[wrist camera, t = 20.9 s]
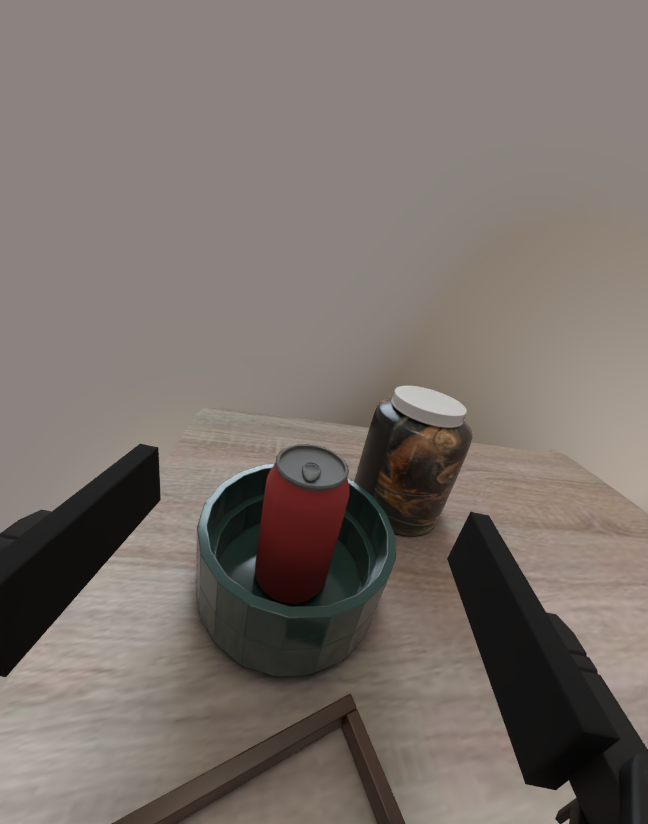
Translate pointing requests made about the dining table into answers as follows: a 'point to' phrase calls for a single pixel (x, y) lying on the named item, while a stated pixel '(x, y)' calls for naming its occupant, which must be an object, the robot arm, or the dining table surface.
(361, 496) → the green bowl
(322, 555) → the beer can
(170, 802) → the brown square frame
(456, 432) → the jar
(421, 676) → the dining table surface
